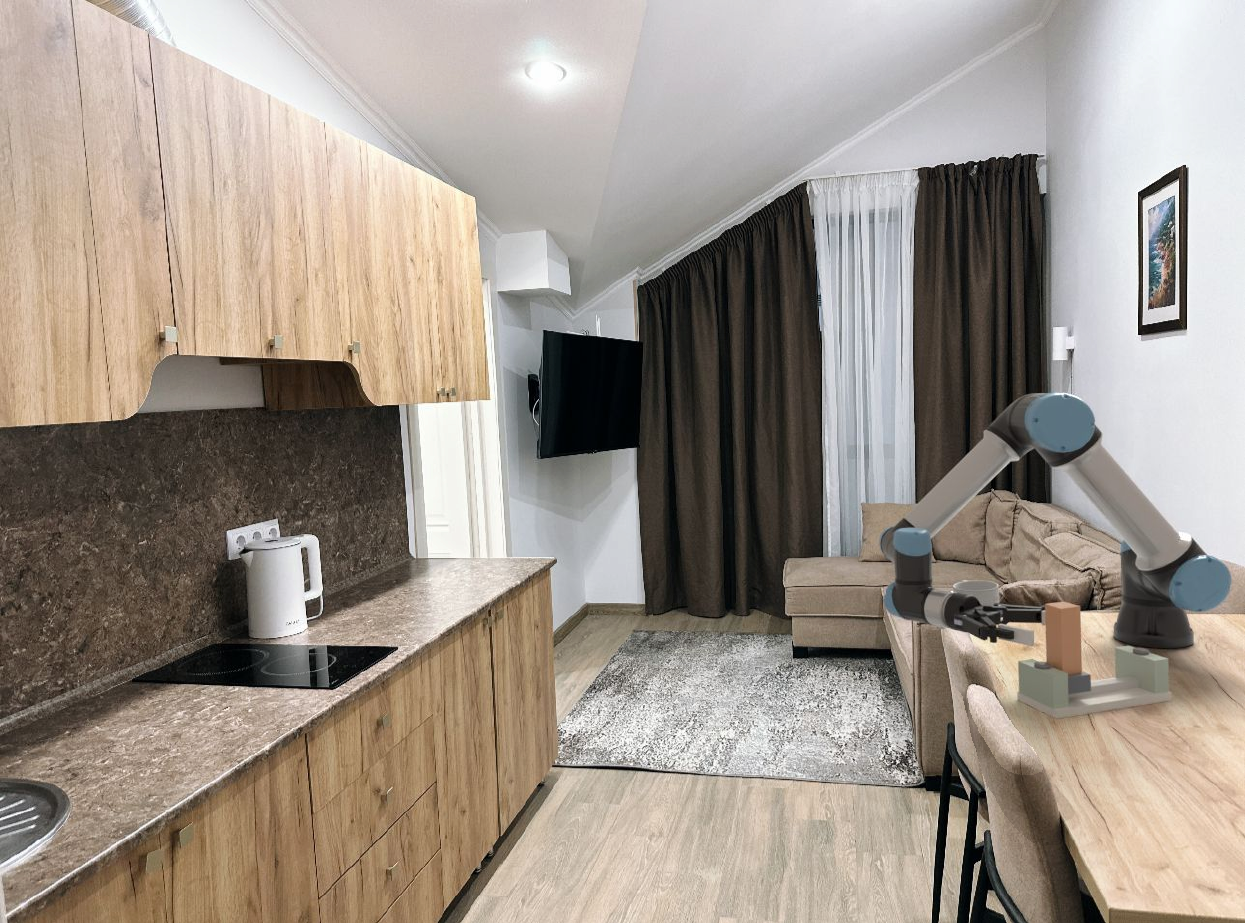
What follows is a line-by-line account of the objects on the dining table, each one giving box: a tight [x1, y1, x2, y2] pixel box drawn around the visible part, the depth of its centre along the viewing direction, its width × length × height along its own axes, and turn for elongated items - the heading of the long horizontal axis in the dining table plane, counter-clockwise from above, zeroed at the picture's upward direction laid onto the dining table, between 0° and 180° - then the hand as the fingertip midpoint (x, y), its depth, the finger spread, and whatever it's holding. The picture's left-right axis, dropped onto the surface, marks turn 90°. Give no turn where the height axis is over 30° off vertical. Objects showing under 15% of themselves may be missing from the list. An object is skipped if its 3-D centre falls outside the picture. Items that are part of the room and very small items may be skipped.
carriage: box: [1044, 601, 1092, 694], centre depth 153 cm, size 5×7×15 cm
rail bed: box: [1016, 676, 1172, 720], centre depth 155 cm, size 24×10×3 cm, turn 103°
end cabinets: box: [1017, 645, 1170, 709], centre depth 155 cm, size 24×9×7 cm, turn 102°
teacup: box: [952, 579, 1000, 606], centre depth 218 cm, size 14×11×8 cm
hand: (1055, 631), depth 154 cm, fingers open, 13 cm apart
